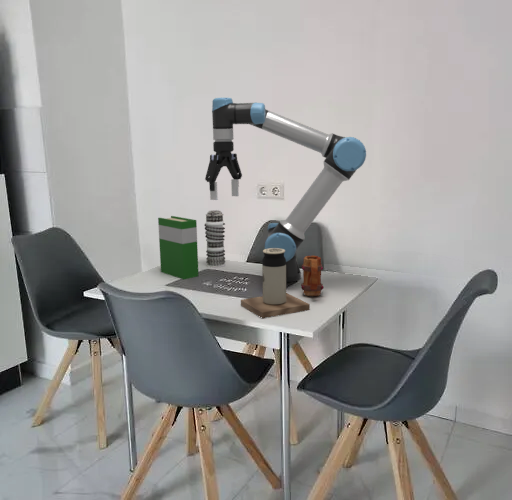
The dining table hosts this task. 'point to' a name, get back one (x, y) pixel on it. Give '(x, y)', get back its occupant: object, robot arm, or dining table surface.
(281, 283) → the travel mug
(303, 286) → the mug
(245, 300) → the walnut board
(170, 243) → the hardback book
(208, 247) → the decorative candle
